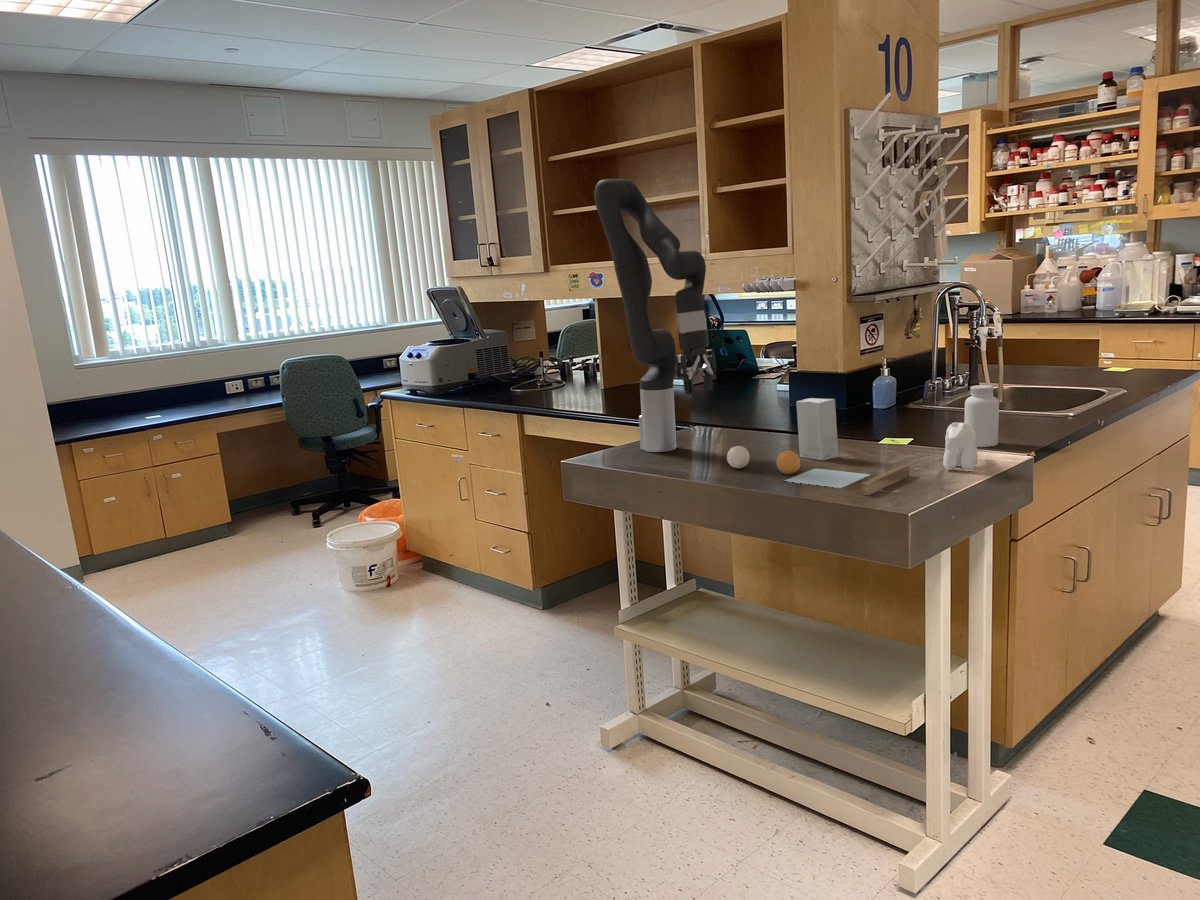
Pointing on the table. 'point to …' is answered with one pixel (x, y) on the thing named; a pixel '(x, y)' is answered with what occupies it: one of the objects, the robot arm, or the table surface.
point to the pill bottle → (983, 415)
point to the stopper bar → (884, 480)
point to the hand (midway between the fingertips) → (699, 391)
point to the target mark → (828, 478)
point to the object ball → (788, 462)
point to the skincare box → (817, 428)
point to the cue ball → (738, 457)
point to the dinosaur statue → (960, 447)
